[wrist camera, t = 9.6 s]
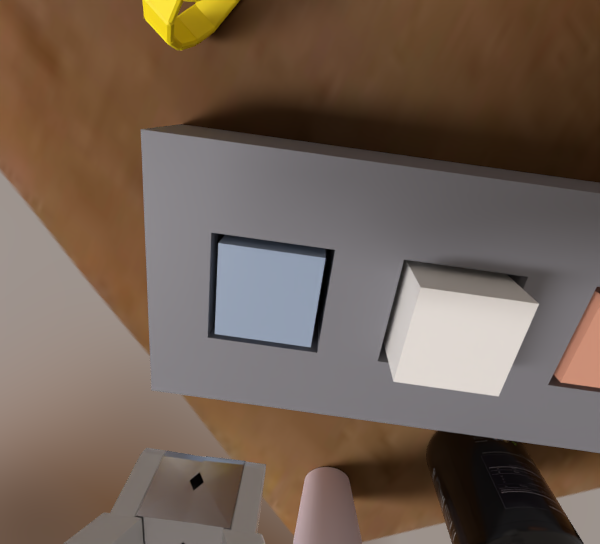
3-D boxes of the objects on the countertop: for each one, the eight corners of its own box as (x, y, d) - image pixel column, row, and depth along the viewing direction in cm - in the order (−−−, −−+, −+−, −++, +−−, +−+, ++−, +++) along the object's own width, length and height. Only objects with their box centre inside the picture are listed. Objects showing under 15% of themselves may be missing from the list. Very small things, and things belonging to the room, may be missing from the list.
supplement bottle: (492, 487, 30) (590, 705, 19) (410, 467, 30) (462, 678, 19) (536, 424, 27) (679, 639, 16) (446, 402, 27) (531, 606, 16)
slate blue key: (233, 294, 24) (214, 333, 19) (237, 217, 21) (218, 243, 17) (312, 306, 24) (310, 347, 19) (325, 229, 21) (325, 258, 17)
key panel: (181, 340, 26) (151, 390, 21) (181, 124, 20) (140, 129, 16) (613, 400, 26) (675, 463, 21) (732, 201, 20) (851, 228, 16)
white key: (380, 331, 22) (393, 381, 18) (400, 250, 20) (420, 287, 16) (466, 342, 22) (498, 396, 18) (495, 263, 20) (539, 303, 16)
